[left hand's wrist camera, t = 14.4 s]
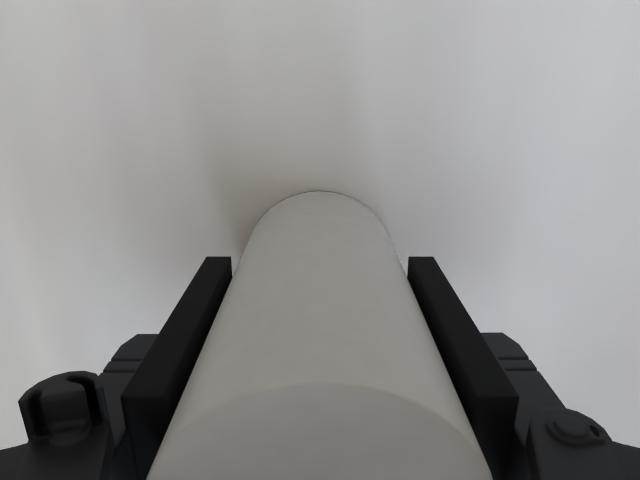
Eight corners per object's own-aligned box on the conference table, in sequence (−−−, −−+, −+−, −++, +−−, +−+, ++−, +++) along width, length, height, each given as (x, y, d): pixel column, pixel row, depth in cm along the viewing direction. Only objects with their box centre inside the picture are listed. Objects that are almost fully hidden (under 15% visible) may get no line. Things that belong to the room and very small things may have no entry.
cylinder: (395, 189, 16) (521, 377, 6) (390, 325, 18) (480, 641, 8) (239, 192, 16) (110, 385, 6) (251, 328, 18) (166, 645, 8)
